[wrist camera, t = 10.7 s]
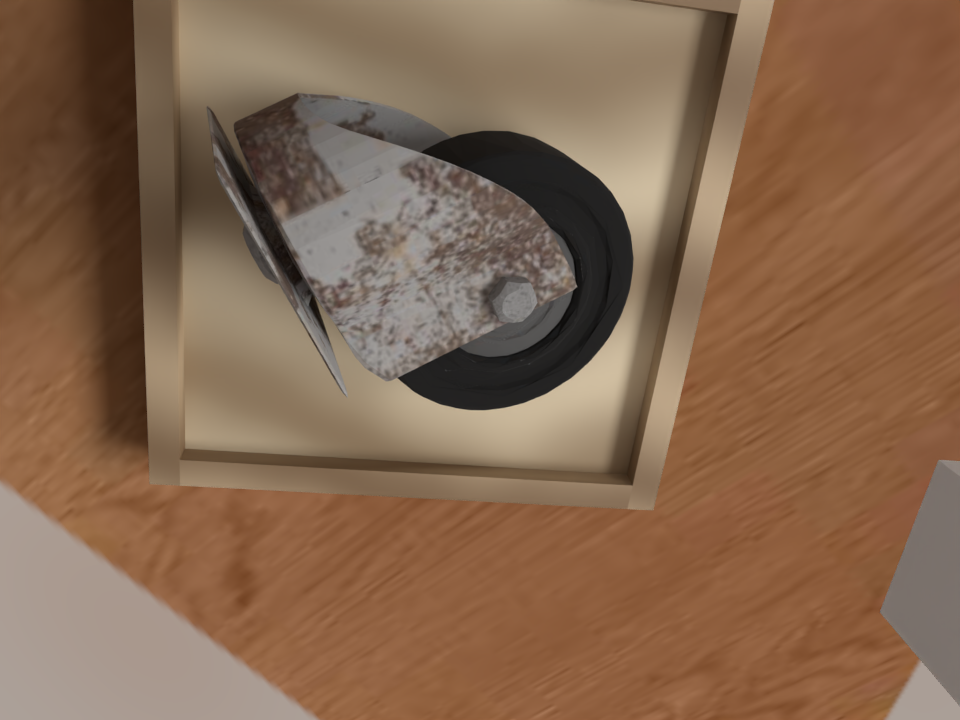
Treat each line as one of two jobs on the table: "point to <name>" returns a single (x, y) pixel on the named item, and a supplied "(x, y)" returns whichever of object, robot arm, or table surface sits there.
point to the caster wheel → (430, 245)
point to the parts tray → (454, 110)
